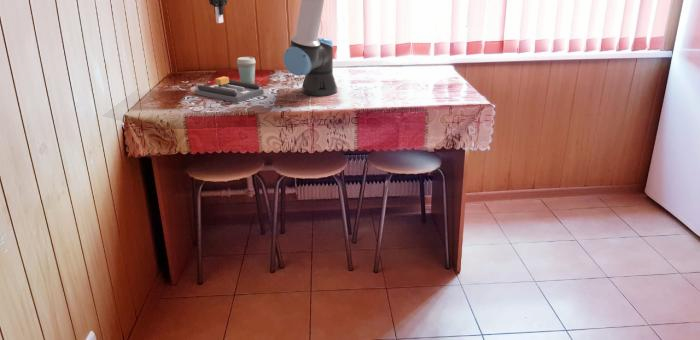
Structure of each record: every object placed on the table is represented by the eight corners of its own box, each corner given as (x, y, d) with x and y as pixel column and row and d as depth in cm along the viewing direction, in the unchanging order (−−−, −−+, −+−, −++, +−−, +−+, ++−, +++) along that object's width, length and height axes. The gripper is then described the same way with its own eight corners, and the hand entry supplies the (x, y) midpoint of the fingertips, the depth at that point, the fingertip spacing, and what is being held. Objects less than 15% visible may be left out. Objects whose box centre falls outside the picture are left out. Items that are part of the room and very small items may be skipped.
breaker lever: (229, 87, 222) (228, 77, 220) (221, 89, 218) (220, 79, 216) (224, 86, 223) (223, 76, 221) (216, 88, 219) (215, 78, 217)
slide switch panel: (263, 93, 220) (263, 86, 219) (237, 102, 207) (237, 94, 206) (222, 86, 231) (221, 79, 230) (195, 94, 219) (194, 86, 218)
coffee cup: (253, 87, 230) (251, 60, 226) (235, 86, 232) (233, 59, 227) (260, 82, 238) (258, 56, 233) (242, 82, 240) (240, 56, 235)
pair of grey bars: (259, 88, 220) (259, 84, 219) (233, 96, 207) (233, 92, 207) (223, 82, 230) (223, 78, 229) (196, 89, 218) (196, 85, 217)
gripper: (232, -38, 207) (237, 22, 217) (209, -38, 214) (215, 20, 223) (219, -38, 201) (224, 24, 211) (196, -38, 208) (202, 22, 217)
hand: (219, 22), depth 217 cm, fingers closed
